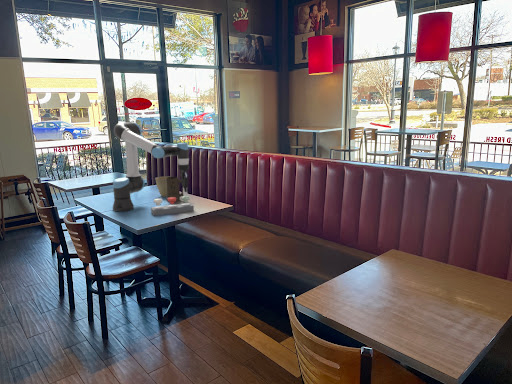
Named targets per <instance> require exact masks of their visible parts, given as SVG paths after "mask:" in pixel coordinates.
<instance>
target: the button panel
mask: <svg viewBox="0 0 512 384" xmlns="http://www.w3.org/2000/svg"><path fill="white" fill-rule="evenodd" d="M194 207H195V206H194V204H192V203H191V202H183V203H178V204H169V205H158V206H151V207H150V211H151V212H150V213H151V214H152V215H153V216H154V217H155V216H156V215H157V216H163V215H164V214H165V215H172V214H173V215H174V214H180V213H188V212H194V211H195V210H194V209H195V208H194Z"/></svg>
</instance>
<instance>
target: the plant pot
mask: <svg viewBox="0 0 512 384" xmlns="http://www.w3.org/2000/svg"><path fill="white" fill-rule="evenodd" d="M167 177H168V176H158V177H155V183H156V188H157V190H158V193H159V195H160V197H167V181H166V178H167Z"/></svg>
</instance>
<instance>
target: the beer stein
mask: <svg viewBox="0 0 512 384" xmlns="http://www.w3.org/2000/svg"><path fill="white" fill-rule="evenodd" d="M166 177H167V178H166V181H167V196H166V202H168V198H170V197H175V198H176V201H174V203H177V202H180V201H181V197H182V196H183V188H182V189H181V193H180V185H179V184H180V183H181V184H182V181H181V179H179V177H178V176H166Z"/></svg>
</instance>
